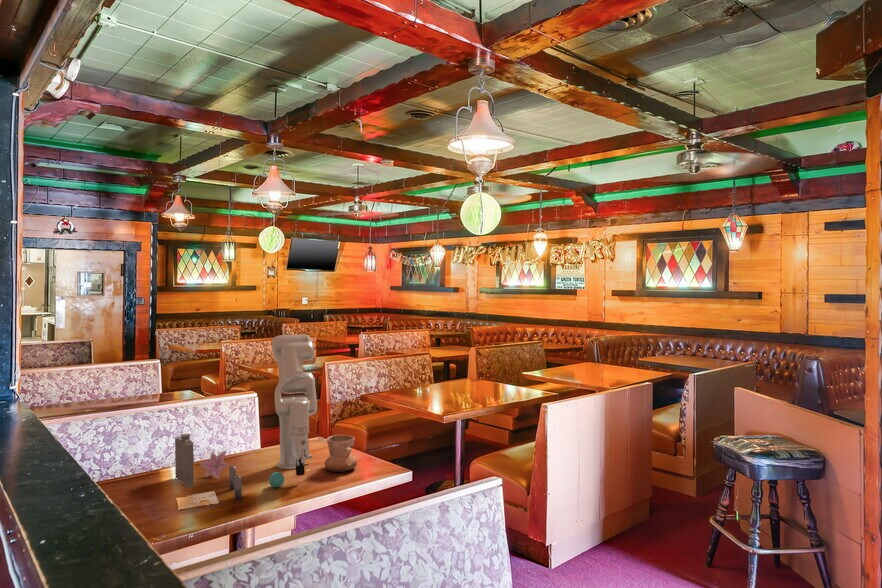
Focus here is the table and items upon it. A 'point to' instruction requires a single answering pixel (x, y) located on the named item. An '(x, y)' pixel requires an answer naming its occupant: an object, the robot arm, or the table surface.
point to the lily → (214, 464)
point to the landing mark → (208, 496)
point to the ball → (276, 479)
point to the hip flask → (184, 460)
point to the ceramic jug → (340, 453)
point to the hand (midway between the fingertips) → (300, 474)
